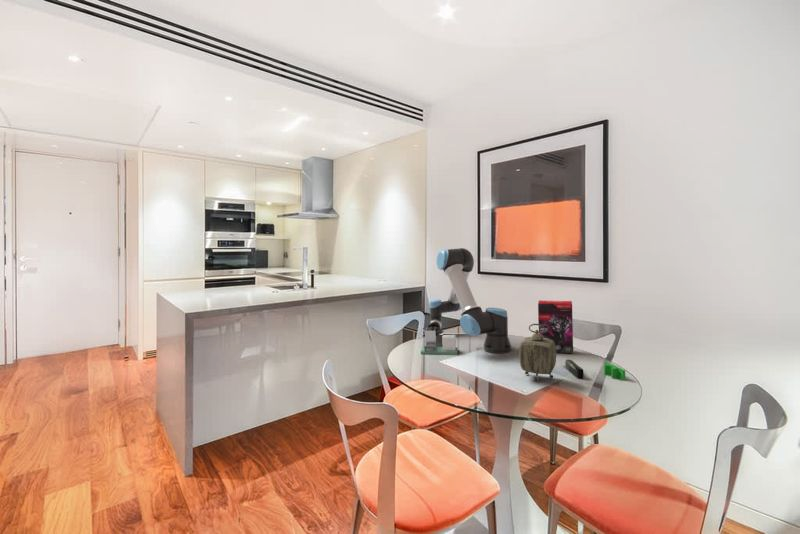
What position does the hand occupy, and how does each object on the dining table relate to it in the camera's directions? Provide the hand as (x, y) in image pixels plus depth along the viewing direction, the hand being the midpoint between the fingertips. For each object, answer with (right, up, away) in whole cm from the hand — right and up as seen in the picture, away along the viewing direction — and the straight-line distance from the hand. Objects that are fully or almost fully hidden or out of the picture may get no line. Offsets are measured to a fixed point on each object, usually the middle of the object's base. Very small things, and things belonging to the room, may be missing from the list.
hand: (430, 337), depth 216 cm
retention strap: (0, -6, -2) cm, 6 cm away
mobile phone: (+62, -9, -42) cm, 76 cm away
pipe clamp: (+77, -8, -48) cm, 91 cm away
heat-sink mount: (+5, -7, -3) cm, 9 cm away
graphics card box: (+67, -5, -12) cm, 68 cm away
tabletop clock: (+44, -10, -47) cm, 65 cm away
